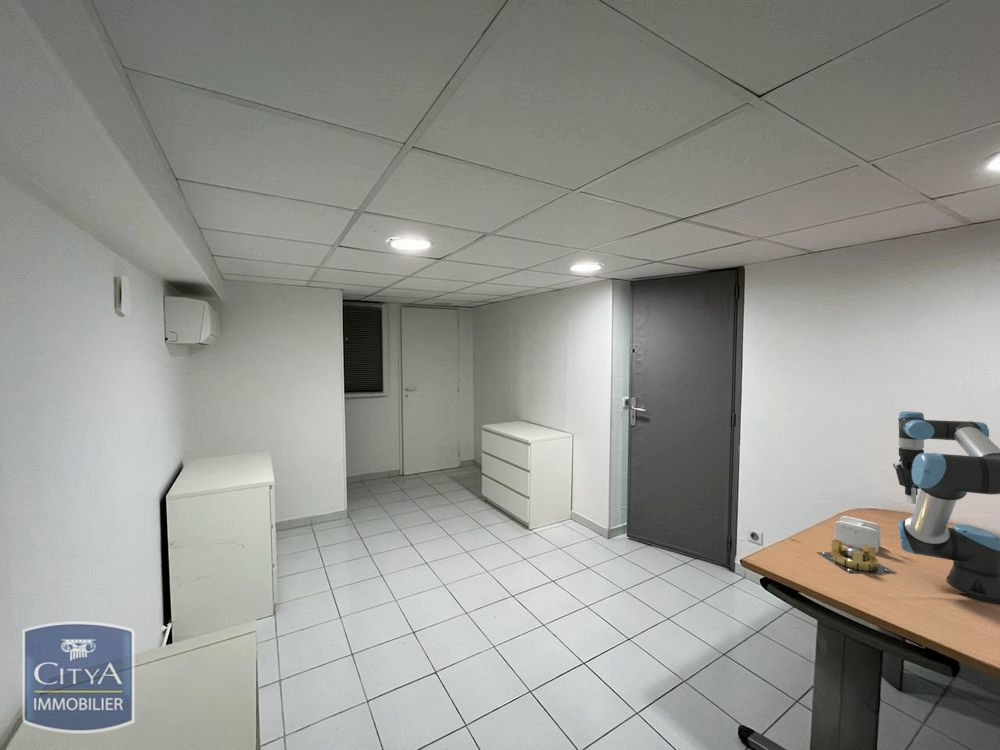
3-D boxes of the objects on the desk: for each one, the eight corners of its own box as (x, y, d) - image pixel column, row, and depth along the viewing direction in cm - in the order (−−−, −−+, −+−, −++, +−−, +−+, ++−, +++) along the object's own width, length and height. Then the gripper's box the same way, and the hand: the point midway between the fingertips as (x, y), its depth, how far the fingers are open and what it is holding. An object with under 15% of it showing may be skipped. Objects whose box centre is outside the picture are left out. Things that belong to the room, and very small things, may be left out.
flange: (896, 577, 158) (896, 560, 158) (848, 577, 159) (848, 559, 159) (858, 555, 176) (858, 539, 176) (816, 555, 177) (815, 539, 177)
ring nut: (866, 555, 172) (866, 540, 172) (886, 572, 158) (886, 556, 158) (825, 551, 176) (825, 536, 176) (842, 568, 163) (841, 551, 162)
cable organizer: (883, 549, 180) (883, 524, 180) (877, 557, 174) (877, 530, 174) (841, 538, 193) (840, 514, 192) (833, 545, 186) (833, 520, 186)
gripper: (918, 445, 174) (918, 499, 174) (887, 446, 174) (887, 499, 175) (936, 449, 166) (936, 505, 167) (903, 450, 167) (903, 506, 168)
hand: (911, 502), depth 171 cm, fingers closed
